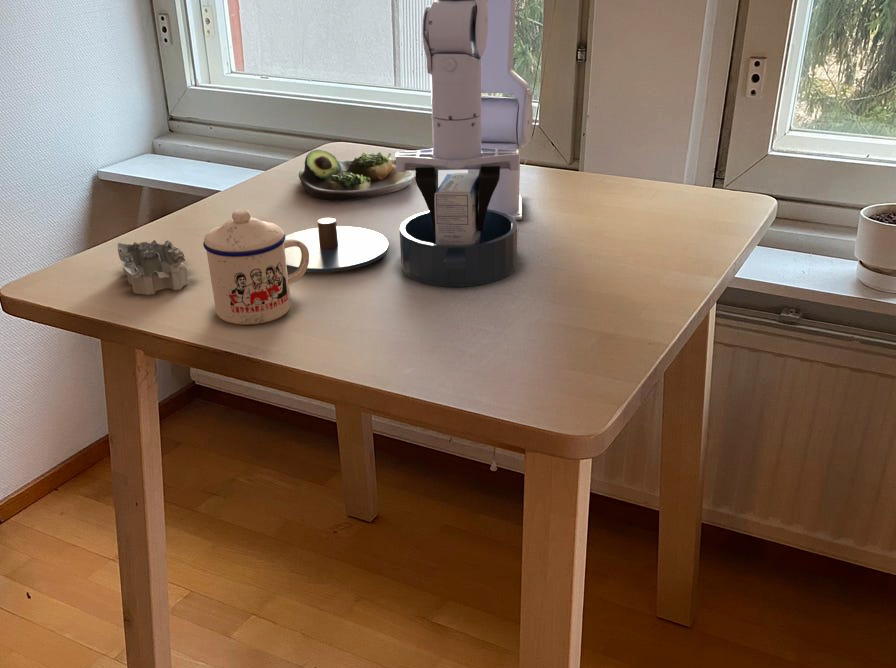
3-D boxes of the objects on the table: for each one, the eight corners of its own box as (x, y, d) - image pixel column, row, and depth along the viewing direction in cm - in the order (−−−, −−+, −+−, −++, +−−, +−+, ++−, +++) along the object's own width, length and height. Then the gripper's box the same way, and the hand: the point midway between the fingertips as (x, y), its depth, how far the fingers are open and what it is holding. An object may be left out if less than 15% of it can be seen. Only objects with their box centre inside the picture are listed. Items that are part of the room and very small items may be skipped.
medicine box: (471, 264, 121) (471, 192, 117) (435, 262, 122) (433, 191, 118) (481, 241, 128) (481, 172, 123) (446, 239, 129) (445, 171, 124)
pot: (394, 296, 118) (392, 255, 116) (408, 237, 135) (407, 201, 132) (517, 295, 117) (517, 254, 114) (516, 236, 134) (517, 199, 131)
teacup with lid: (231, 333, 111) (215, 231, 105) (203, 306, 118) (187, 208, 112) (328, 308, 116) (319, 209, 110) (296, 283, 123) (286, 189, 117)
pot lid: (259, 277, 125) (254, 242, 123) (282, 234, 138) (279, 202, 135) (382, 276, 124) (380, 241, 121) (394, 233, 137) (392, 200, 134)
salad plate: (403, 159, 166) (402, 130, 164) (442, 188, 152) (441, 158, 150) (289, 175, 161) (286, 146, 159) (318, 207, 147) (315, 176, 144)
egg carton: (192, 289, 123) (187, 257, 121) (130, 299, 121) (123, 267, 119) (179, 259, 131) (173, 229, 129) (120, 268, 129) (114, 238, 127)
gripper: (390, 124, 113) (396, 240, 121) (519, 121, 112) (517, 239, 120) (396, 109, 119) (402, 221, 127) (519, 106, 118) (517, 219, 125)
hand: (458, 228), depth 124 cm, fingers closed on medicine box, 5 cm apart
